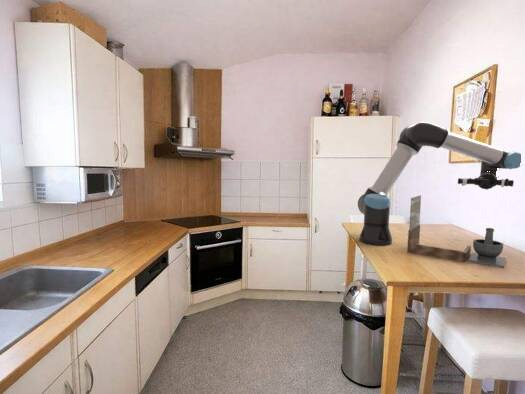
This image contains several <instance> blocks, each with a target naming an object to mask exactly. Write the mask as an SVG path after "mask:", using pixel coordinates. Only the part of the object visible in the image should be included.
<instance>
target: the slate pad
mask: <svg viewBox="0 0 525 394" xmlns="http://www.w3.org/2000/svg"><path fill="white" fill-rule="evenodd" d="M477 257H478V254H477V253H476V252H472V253H471V254H470V255H469V257H468V262H469V263H474V264H479V265H484V266H489V267H496V268H502V269H504V268H505V265H506V264H505V263H506V257H504V256H497V257H496V261H494V262H491V261H484V260H480V259H478V258H477Z"/></svg>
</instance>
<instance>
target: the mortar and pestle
mask: <svg viewBox="0 0 525 394" xmlns="http://www.w3.org/2000/svg"><path fill="white" fill-rule="evenodd" d="M494 232H495V229H494V228H492V227H487V228H485V237H484V239H482V238H478V239H473V242H472V246H473V247H472V248H473V250H474V251H475V252H474V253H477V254H478V257H477V258H478V259H480V260H484V261H491V262H494V261H496V257H497V256H498V257H500V255H501V254H502V252H503V249H504V242H500V241H497V240H494Z"/></svg>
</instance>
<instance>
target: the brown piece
mask: <svg viewBox="0 0 525 394" xmlns="http://www.w3.org/2000/svg"><path fill="white" fill-rule="evenodd" d="M421 203H422V195H416V196H414V197H411V198H410V206H409V207H410V208H409V209H410V210H409V214H410V215H409V227H408V228H409V229H408V230H407V231H408V234H407V238H408V239H407V253H411V254H418V255H422V256H423V255H424V256H428V257H433V258H439V259H445V260H450V261H456V262H461V263H467V261H468V260H469V258H470V256H471V251H472V250H471V249H472V246H471V245H467V246H466V247H465V248H464V250H457V249H451V248H444V247H439V246H432V245H427V244H421V243H420V236H421V233H420V232H421V222H420V221H421Z"/></svg>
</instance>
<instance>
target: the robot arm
mask: <svg viewBox="0 0 525 394" xmlns="http://www.w3.org/2000/svg"><path fill="white" fill-rule="evenodd" d="M398 138H399V139H398V141H396V149H395V151H394V152H393V154H392V155H391V157H390V158H389V160H388V162H387V163H386V164H385V166H384V168H383V169H382V170H381V173H380V174H379V176H378V177H377V179H376V180H375V182H374V183H373V185H372V186H370V187H367V189H366V190H365V192H364V193H363V194H362V195H361V196H359V198H358V200H357V207H358V208H357V209H358V210H359V212H360V213H361V214H362V215H363V227H362V230H361V232H360V235H359V241H360V242H361V243H364V244H367V245H372V246H373V245H374V246H387V245H391V244H393V237H392V234H391V231H390V225H389V224H390V208H391V199H390V197H389V196H388V194H389V192H390V191H391V190H392V188H393V186H394V185H395V183H396V182H397V180H398V179H399V177H400V176H401V175H402V172H403V171H404V170H405V167H407V165H408V163H409V162H410V160H411V159H412V157H413V156H415V155H418V154H419V152H420V151H421V149H422V148H423V147H431V148H434V149H435V148H436V149H441V148H443V149H445V150H449V151H452V152H455V153H458V154H461V155H463V156H466V157H469V158H473V159H475V160H479V161H481V163H480V172H479V173H480V174H479V176H478V177H474V178H471V177H469V178H467V177H466V178H461V177H458V179H457V184H458V185H460V184H461V186H466V185H474V186H478V187H479V188H480V189H481V190H483V189H484V190H486V191H487V190H490V189H492V188H494V187H496V186H500V187H501V188H504V187H514V184H515V181H514V180H513V179H511V180H510V179H509V178H505V179H503V178H502V179H499V180H497V177H496V171H497V168H499V169H501V170H503V169H506V170H513V169H514V170H515V169H518V168H520V167H521V166H520V163H521V154H522V153H520V152H517V151H508V150H505V149H501V148H499V147H495V146H492V145H490V144H486V143H484V142H480V141H477V140H475V139H472V138H468V137H465V136H463V135H459V134H456V133H454V132H451V131H449V129H448V128H445V127H443V126H440V125H438V124H435V123H431V122H428V121H427V122H426V121H421V122H417V123H414V124H410V125H408V126H406V127H405V128H404V129H403V130H402V131H401V132H400V134H399V137H398ZM487 171H488V172H487ZM489 171H490V172H489Z"/></svg>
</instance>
